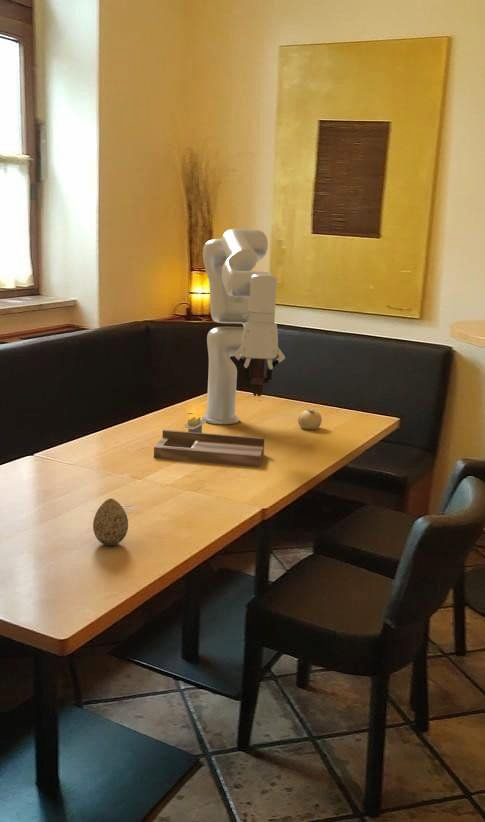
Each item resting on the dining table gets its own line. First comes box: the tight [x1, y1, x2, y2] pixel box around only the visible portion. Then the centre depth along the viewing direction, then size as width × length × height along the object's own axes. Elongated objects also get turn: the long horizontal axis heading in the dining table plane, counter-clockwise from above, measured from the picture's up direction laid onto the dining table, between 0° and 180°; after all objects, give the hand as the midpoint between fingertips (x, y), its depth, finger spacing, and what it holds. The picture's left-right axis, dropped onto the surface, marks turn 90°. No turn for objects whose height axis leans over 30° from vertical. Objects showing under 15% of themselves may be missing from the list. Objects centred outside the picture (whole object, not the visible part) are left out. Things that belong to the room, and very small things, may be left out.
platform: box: [183, 416, 207, 433], centre depth 250 cm, size 12×18×7 cm, turn 160°
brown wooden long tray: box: [153, 429, 265, 468], centre depth 232 cm, size 12×30×5 cm, turn 83°
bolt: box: [248, 359, 267, 397], centre depth 232 cm, size 6×5×15 cm
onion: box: [297, 408, 323, 430], centre depth 269 cm, size 8×8×7 cm
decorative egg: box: [92, 498, 129, 547], centre depth 167 cm, size 7×7×10 cm
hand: (257, 380), depth 233 cm, fingers closed on bolt, 5 cm apart
